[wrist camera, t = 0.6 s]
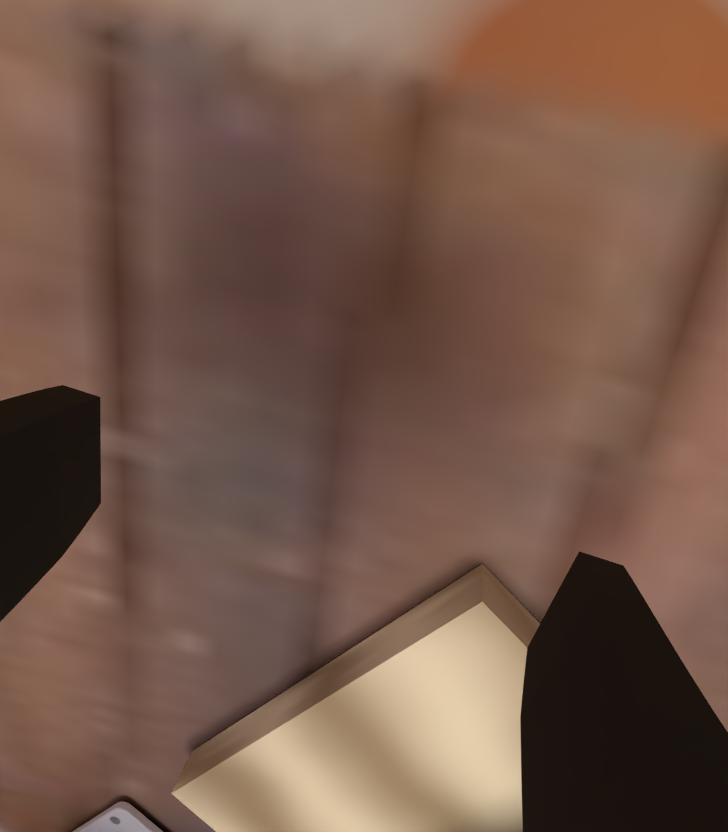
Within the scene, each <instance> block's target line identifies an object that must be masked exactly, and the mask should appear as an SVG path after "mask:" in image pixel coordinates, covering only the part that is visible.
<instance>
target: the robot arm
mask: <svg viewBox="0 0 728 832" xmlns="http://www.w3.org/2000/svg"><path fill="white" fill-rule="evenodd" d="M100 503H101V461H100V397H98V396H95V395H92V394H88V393H85V392H82V391H79V390H76V389H73V388H70V387H67V386H64V385H62V386H57V387H52V388H47V389H43V390H39V391H35V392H31V393H28V394H24V395H20V396H17V397H13V398H9V399H6V400H2V401H0V621H1V620H2V619H3V618H4V617H5V616H6V615H7V614H8V613H9V612H10V611H11V610H12V609H13V608H14V607H15V606H16V605H17V604H18V603H19V602H20V601H21V600H22V599H23V597H24V596H25V595H26V594H27V593H28V592H29V591H30V590H31V589H32V588H33V587H34V586H35V585H36V584H37V583H38V582H39V581H40V579H41V578H42V577H43V576H44V575H45V574H46V573H47V572H48V571H49V570H50V569H51V568H52V567H53V566H54V565H55V563H56V562H57V561H58V560H59V559H60V558H61V557H62V556H63V554H64V553H65V552H66V550H67V549H68V548H69V546H70V545H71V544H72V542H73V541H74V540H75V538H76V537H77V536H78V534H79V533H80V532H81V530H82V529H83V528H84V526H85V525H86V523H87V522H88V520H89V519H90V518H91V516H92V515H93V513H94V512H95V511H96V509H97V508H98V506H99V505H100ZM520 723H521V783H522V823H523V832H728V732H727V731H726V729H725V728H724V726H723V725H722V723H721V722H720V720H719V719H718V717H717V716H716V714H715V713H714V711H713V710H712V708H711V706H710V705H709V703H708V702H707V700H706V699H705V697H704V696H703V694H702V692H701V691H700V689H699V688H698V686H697V685H696V683H695V681H694V680H693V678H692V677H691V675H690V673H689V672H688V670H687V669H686V667H685V665H684V664H683V662H682V661H681V659H680V657H679V656H678V654H677V652H676V651H675V649H674V648H673V646H672V644H671V643H670V641H669V639H668V638H667V636H666V634H665V633H664V631H663V629H662V628H661V626H660V624H659V623H658V621H657V620H656V618H655V616H654V615H653V613H652V611H651V610H650V608H649V606H648V605H647V603H646V601H645V600H644V598H643V596H642V595H641V593H640V591H639V590H638V588H637V586H636V585H635V583H634V582H633V580H632V578H631V577H630V575H629V574H628V572H627V571H626V569H625V568H624V566H623V565H620V564H616V563H613V562H610V561H607V560H604V559H601V558H598V557H595V556H592V555H589V554H585V553H582V552H579V553H578V555H577V557H576V559H575V561H574V562H573V564H572V566H571V568H570V570H569V572H568V573H567V575H566V577H565V579H564V581H563V583H562V585H561V586H560V588H559V590H558V592H557V594H556V596H555V597H554V599H553V601H552V603H551V605H550V607H549V609H548V610H547V612H546V614H545V616H544V618H543V620H542V621H541V623H540V625H539V627H538V629H537V631H536V632H535V634H534V636H533V638H532V640H531V642H530V644H529V645H528V647H527V656H526V665H525V674H524V683H523V694H522V705H521V716H520ZM72 832H163V831H162V830H161V829H160V828H158V827H157V826H156V825H155V824H154V823H152V822H151V821H150V820H149V819H148V818H146V817H145V816H144V815H143V814H142V813H140V812H139V811H138V810H137V809H136V808H134V807H133V806H132V805H131V804H129V803H127V802H118V803H116V804H114V805H113V806H111V807H110V808H108V809H107V810H105V811H104V812H102V813H100V814H99V815H97V816H96V817H94V818H93V819H91V820H90V821H88V822H86V823H85V824H83V825H82V826H80V827H79V828H77V829H76V830H74V831H72Z"/></svg>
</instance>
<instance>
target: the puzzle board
mask: <svg viewBox="0 0 728 832" xmlns="http://www.w3.org/2000/svg"><path fill="white" fill-rule="evenodd" d="M539 625H540V623H539V622H538V621H537V620H536V619H535V618H534V617H533V616H532V615H531V614H530V613H529V612H528V611H527V610H526V609H525V608H524V606H523V605H522V604H521V603H520V602H519V601H518V600H517V599H516V598H515V597H514V596H513V595H512V594H511V593H510V592H509V591H508V590H507V589H506V588H505V587H504V586H503V585H502V584H501V582H500V581H499V580H498V579H497V578H496V577H495V576H494V575H493V574H492V573H491V572H490V571H489V570H488V569H487V568H486V567H485V566H484V565H483V564H481V565H480V566H478V567H476V568H475V569H473V570H472V571H470V572H469V573H467V574H466V575H464V576H462V577H461V578H459V579H458V580H456V581H455V582H453V583H452V584H450V585H449V586H447V587H445V588H444V589H442V590H441V591H439V592H438V593H436V594H435V595H433V596H432V597H430V598H428V599H427V600H425V601H424V602H422V603H421V604H419V605H418V606H416V607H415V608H413V609H411V610H410V611H408V612H407V613H405V614H404V615H402V616H401V617H399V618H397V619H396V620H394V621H393V622H391V623H390V624H388V625H387V626H385V627H384V628H382V629H380V630H379V631H377V632H376V633H374V634H373V635H371V636H370V637H368V638H367V639H365V640H363V641H362V642H360V643H359V644H357V645H356V646H354V647H353V648H351V649H349V650H348V651H346V652H345V653H343V654H342V655H340V656H339V657H337V658H336V659H334V660H332V661H331V662H329V663H328V664H326V665H325V666H323V667H322V668H320V669H319V670H317V671H315V672H314V673H312V674H311V675H309V676H308V677H306V678H305V679H303V680H302V681H300V682H298V683H297V684H295V685H294V686H292V687H291V688H289V689H288V690H286V691H284V692H283V693H281V694H280V695H278V696H277V697H275V698H274V699H272V700H271V701H269V702H267V703H266V704H264V705H263V706H261V707H260V708H258V709H257V710H255V711H254V712H252V713H250V714H249V715H247V716H246V717H244V718H243V719H241V720H240V721H238V722H237V723H235V724H233V725H232V726H230V727H229V728H227V729H226V730H224V731H223V732H221V733H219V734H218V735H216V736H215V737H213V738H212V739H210V740H209V741H207V742H206V743H204V744H202V745H201V746H199V747H198V748H196V749H195V750H193V751H192V753H191V755H190V757H189V759H188V761H187V763H186V765H185V767H184V769H183V771H182V773H181V775H180V777H179V779H178V781H177V783H176V785H175V787H174V789H173V791H172V793H171V794H172V795H174V796H175V797H176V798H177V799H178V800H179V801H181V802H182V803H183V804H184V805H185V806H187V807H188V808H189V809H190V810H191V811H192V812H194V813H195V814H196V815H197V816H198V817H199V818H201V819H202V820H203V821H204V822H205V823H207V824H208V825H209V826H210V827H211V828H212V829H214V830H215V831H216V832H523V823H522V783H521V723H520V716H521V705H522V694H523V683H524V674H525V665H526V656H527V647H528V645H529V644H530V642H531V640H532V638H533V636H534V634H535V632H536V631H537V629H538V627H539Z"/></svg>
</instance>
